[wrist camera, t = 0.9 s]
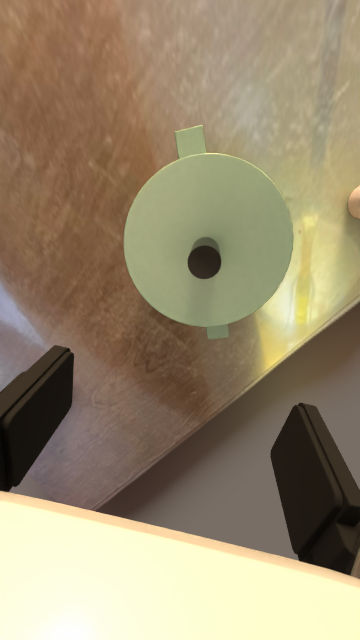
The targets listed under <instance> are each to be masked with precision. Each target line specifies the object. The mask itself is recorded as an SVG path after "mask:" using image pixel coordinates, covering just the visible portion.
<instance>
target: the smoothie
mask: <svg viewBox="0 0 360 640" xmlns="http://www.w3.org/2000/svg"><path fill="white" fill-rule="evenodd" d="M348 210H349V212H350V214H351V215H352V216H354V217H355V218H358V219H360V186H358V187H357V188H356V189H355V190H354V191H353V192H352V194H351V195H350V197H349V200H348Z"/></svg>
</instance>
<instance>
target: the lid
mask: <svg viewBox="0 0 360 640" xmlns="http://www.w3.org/2000/svg"><path fill="white" fill-rule="evenodd" d="M292 250H293V226H292V221H291V216H290V212H289V209H288V207H287V204H286V201H285V200H284V198H283V196H282V194H281V192H280V191H279V189H278V188H277V187H276V185H275V184H274V183H273V181H272V180H271V179H270V178H269V177H268V176H267V175H266V174H265V173H263V172H262V171H261V170H259V169H258V168H257V167H255V166H254V165H252V164H250V163H248V162H246V161H244V160H242V159H239V158H236V157H233V156H230V155H224V154H217V153H204V154H197V155H191V156H188V157H185V158H182V159H179V160H177V161H175V162H173V163H171V164H169V165H167V166H166V167H164V168H163V169H161V170H160V171H158V172H157V173H156V174H155V175H154V176H153V177H151V178H150V179H149V180H148V181H147V183H146V184H145V185H144V186H143V187H142V189H141V190H140V192H139V193H138V195H137V196H136V198H135V199H134V202H133V204H132V206H131V208H130V210H129V214H128V217H127V220H126V225H125V230H124V255H125V260H126V265H127V268H128V271H129V274H130V276H131V278H132V280H133V282H134V284H135V286H136V288H137V289H138V291H139V292H140V294H141V295H142V296H143V297H144V299H145V300H146V301H147V302H148V303H149V304H150V305H151V306H152V307H153V308H155V309H156V310H157V311H159V312H160V313H162V314H163V315H165V316H167V317H168V318H170V319H173V320H175V321H177V322H180V323H184V324H187V325H193V326H202V327H211V326H220V325H225V324H229V323H232V322H236V321H238V320H240V319H242V318H245V317H246V316H248V315H250V314H251V313H253V312H255V311H256V310H257V309H259V308H260V307H261V306H262V305H263V304H264V303H266V302H267V301H268V300H269V299H270V297H271V296H272V295H273V294H274V293H275V291H276V290H277V288H278V287H279V285H280V284H281V282H282V280H283V278H284V276H285V274H286V272H287V269H288V266H289V263H290V260H291V255H292Z"/></svg>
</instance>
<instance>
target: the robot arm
mask: <svg viewBox="0 0 360 640" xmlns="http://www.w3.org/2000/svg"><path fill="white" fill-rule="evenodd" d="M73 366H74V354H73V353H72V352H70V349H69V348H66V347H61V346H57V345H55V346H53V347H52V348H51V349H50V350H49V351H48V352H47V353H46V354H45V355H43V356H42V357H41V358H40V359H39V360H38V361H37V362H36V363H35V364H34V365H33V366H32V367H31V368H29V369H28V370H27V371H26V372H22V373H21V374H20V375H18V376H17V377H16V378H15V379H14V380H13V381H12V382H11V383H10V384H9V385H7V386H6V387H5V388H4V389H3V390H2V391H1V392H0V640H360V490H359V488H358V486H357V484H356V483H355V480H354V479H353V477H352V475H351V473H350V471H349V469H348V467H347V465H346V463H345V461H344V459H343V457H342V456H341V453H340V452H339V450H338V448H337V446H336V444H335V442H334V440H333V438H332V436H331V434H330V432H329V430H328V429H327V427H326V425H325V423H324V421H323V419H322V417H321V415H320V413H319V411H318V409H317V408H316V407H315V406H313V405H309V404H304V403H299V404H298V405H295V406H294V407H293V408H292V410H291V412H290V414H289V416H288V418H287V420H286V422H285V424H284V426H283V428H282V430H281V432H280V433H279V435H278V437H277V439H276V441H275V444H274V445H273V447H272V449H271V461H272V465H273V469H274V473H275V478H276V482H277V486H278V490H279V494H280V499H281V503H282V507H283V511H284V515H285V520H286V524H287V528H288V532H289V537H290V541H291V545H292V549H293V551H294V553H295V554H298V558H299V561H297V560H292V559H289V558H285V557H281V556H277V555H273V554H269V553H265V552H261V551H257V550H253V549H249V548H245V547H240V546H236V545H232V544H228V543H224V542H220V541H216V540H212V539H208V538H204V537H200V536H196V535H191V534H187V533H183V532H179V531H175V530H170V529H166V528H162V527H158V526H153V525H150V524H145V523H141V522H137V521H133V520H129V519H124V518H120V517H116V516H111V515H107V514H103V513H98V512H94V511H90V510H86V509H82V508H77V507H73V506H69V505H64V504H60V503H55V502H52V501H47V500H42V499H37V498H33V497H28V496H23V495H19V494H14V493H9V491H10V489H11V488H12V486H14V487H16V486H18V485H19V484H20V482H21V481H22V479H23V477H24V476H25V475H26V473H27V472H28V470H29V469H30V467H31V466H32V464H33V463H34V462H35V460H36V459H37V457H38V456H39V454H40V453H41V451H42V450H43V448H44V447H45V445H46V444H47V442H48V441H49V439H50V438H51V436H52V435H53V433H54V432H55V430H56V429H57V427H58V426H59V424H60V423H61V421H62V420H63V418H64V417H65V416H66V414H67V413H68V411H69V409H70V407H71V404H72V390H73Z"/></svg>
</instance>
